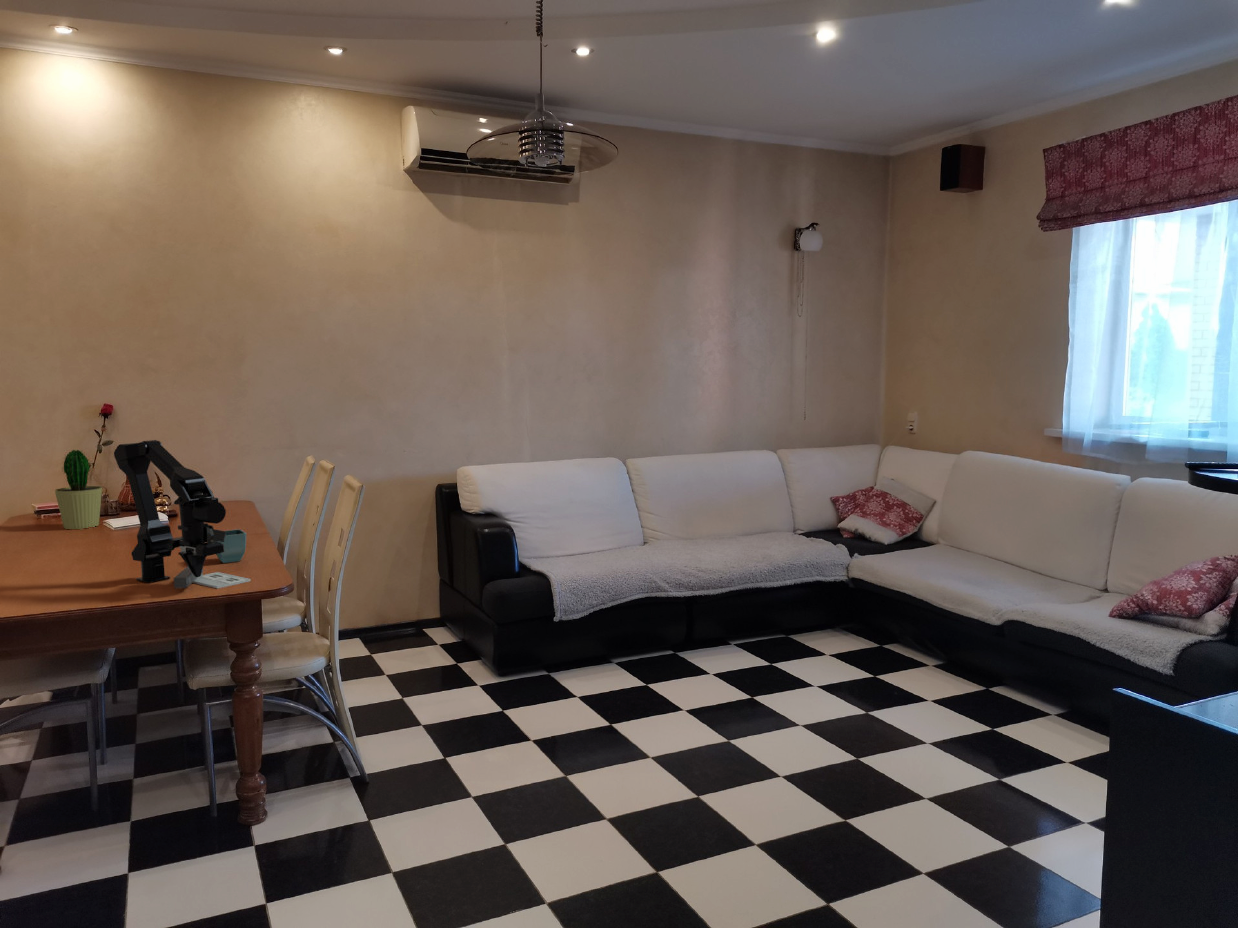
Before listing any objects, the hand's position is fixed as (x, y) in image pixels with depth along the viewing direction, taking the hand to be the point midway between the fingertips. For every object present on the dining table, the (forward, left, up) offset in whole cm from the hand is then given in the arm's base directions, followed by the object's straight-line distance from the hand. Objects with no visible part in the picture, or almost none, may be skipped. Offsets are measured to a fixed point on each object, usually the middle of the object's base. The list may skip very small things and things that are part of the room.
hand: (197, 576), depth 243 cm
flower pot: (-22, +23, -3) cm, 32 cm away
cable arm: (-5, +1, -1) cm, 5 cm away
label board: (-3, +6, -3) cm, 7 cm away
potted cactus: (-125, +27, -3) cm, 128 cm away
